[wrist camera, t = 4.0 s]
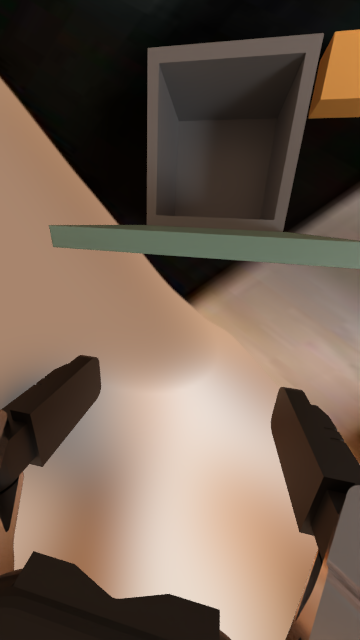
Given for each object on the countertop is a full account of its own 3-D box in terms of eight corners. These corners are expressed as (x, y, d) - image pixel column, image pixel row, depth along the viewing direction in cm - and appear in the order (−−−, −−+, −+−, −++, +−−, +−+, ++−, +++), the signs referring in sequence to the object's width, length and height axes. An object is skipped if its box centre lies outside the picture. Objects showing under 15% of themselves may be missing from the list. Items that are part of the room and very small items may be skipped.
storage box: (286, 112, 20) (324, 32, 13) (263, 236, 24) (282, 231, 16) (173, 115, 22) (147, 48, 14) (168, 231, 25) (146, 225, 18)
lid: (378, 243, 6) (367, 269, 7) (285, 232, 16) (282, 243, 17) (48, 225, 8) (53, 247, 9) (144, 225, 18) (144, 235, 18)
